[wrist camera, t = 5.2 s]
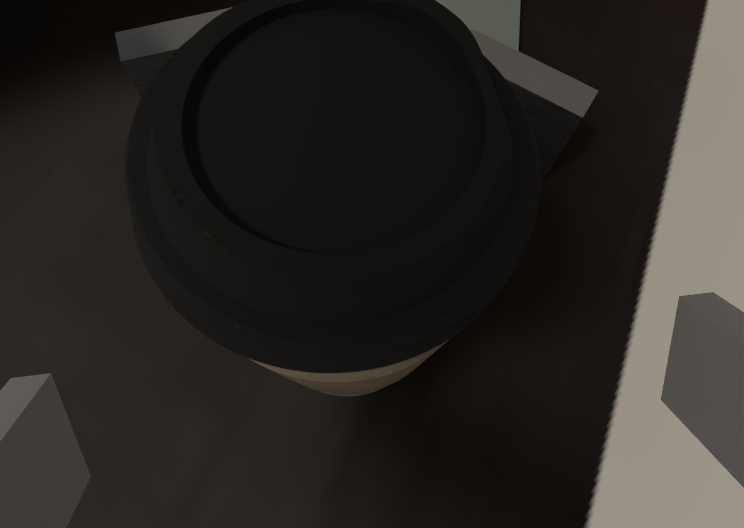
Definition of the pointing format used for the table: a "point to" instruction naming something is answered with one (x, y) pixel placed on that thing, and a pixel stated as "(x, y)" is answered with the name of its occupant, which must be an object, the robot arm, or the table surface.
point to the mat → (489, 18)
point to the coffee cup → (332, 185)
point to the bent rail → (524, 74)
